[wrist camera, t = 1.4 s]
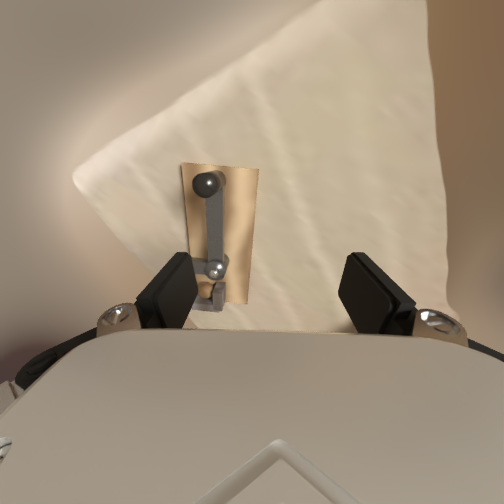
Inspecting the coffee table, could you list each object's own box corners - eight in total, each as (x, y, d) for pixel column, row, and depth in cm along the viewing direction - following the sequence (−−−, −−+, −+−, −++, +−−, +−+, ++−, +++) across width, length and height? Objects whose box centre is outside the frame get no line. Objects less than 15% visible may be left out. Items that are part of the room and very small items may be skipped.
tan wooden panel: (258, 169, 30) (257, 171, 26) (247, 300, 44) (245, 317, 40) (184, 162, 31) (169, 163, 26) (196, 295, 45) (188, 310, 40)
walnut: (215, 279, 40) (211, 290, 37) (216, 291, 42) (211, 302, 39) (200, 278, 41) (194, 288, 37) (201, 290, 42) (195, 300, 39)
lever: (231, 170, 29) (219, 174, 22) (229, 271, 39) (220, 298, 31) (173, 165, 30) (142, 167, 22) (185, 266, 39) (166, 292, 31)
